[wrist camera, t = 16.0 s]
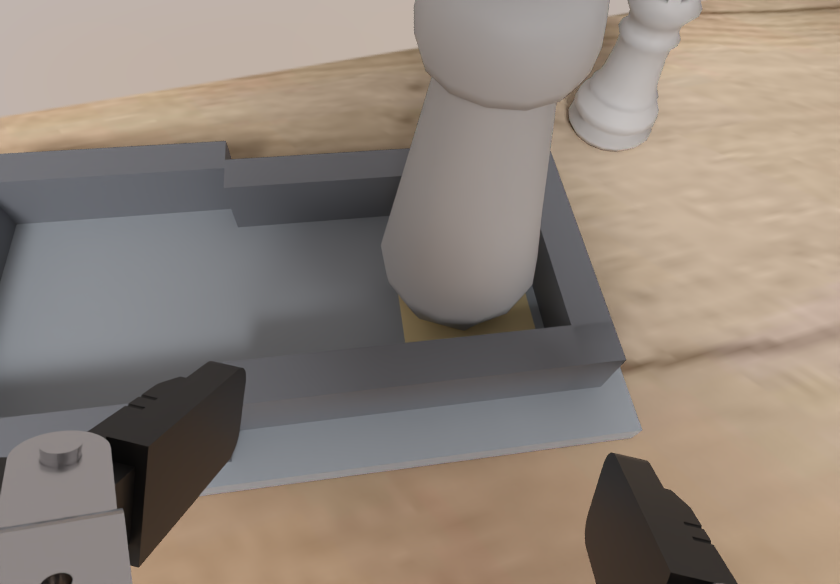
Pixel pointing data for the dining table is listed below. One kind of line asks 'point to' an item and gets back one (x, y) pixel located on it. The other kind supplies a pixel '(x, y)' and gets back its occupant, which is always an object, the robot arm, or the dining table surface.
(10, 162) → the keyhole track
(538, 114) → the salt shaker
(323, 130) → the dining table surface
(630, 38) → the rook chess piece
